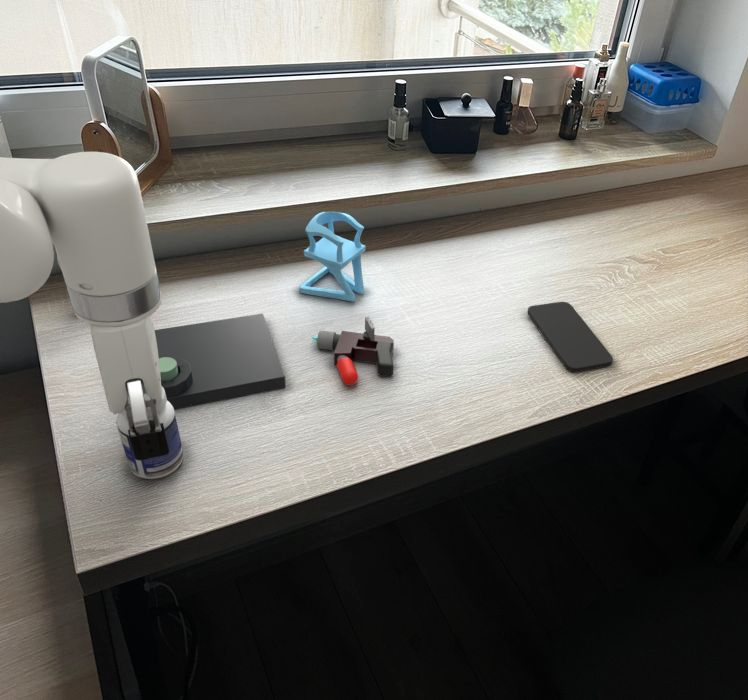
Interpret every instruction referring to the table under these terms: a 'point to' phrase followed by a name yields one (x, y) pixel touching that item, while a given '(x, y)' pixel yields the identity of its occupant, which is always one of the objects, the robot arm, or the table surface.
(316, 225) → the chair
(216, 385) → the dark grey button base
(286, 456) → the table surface
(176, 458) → the pill bottle
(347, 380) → the toy gun
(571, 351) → the phone
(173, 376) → the button
